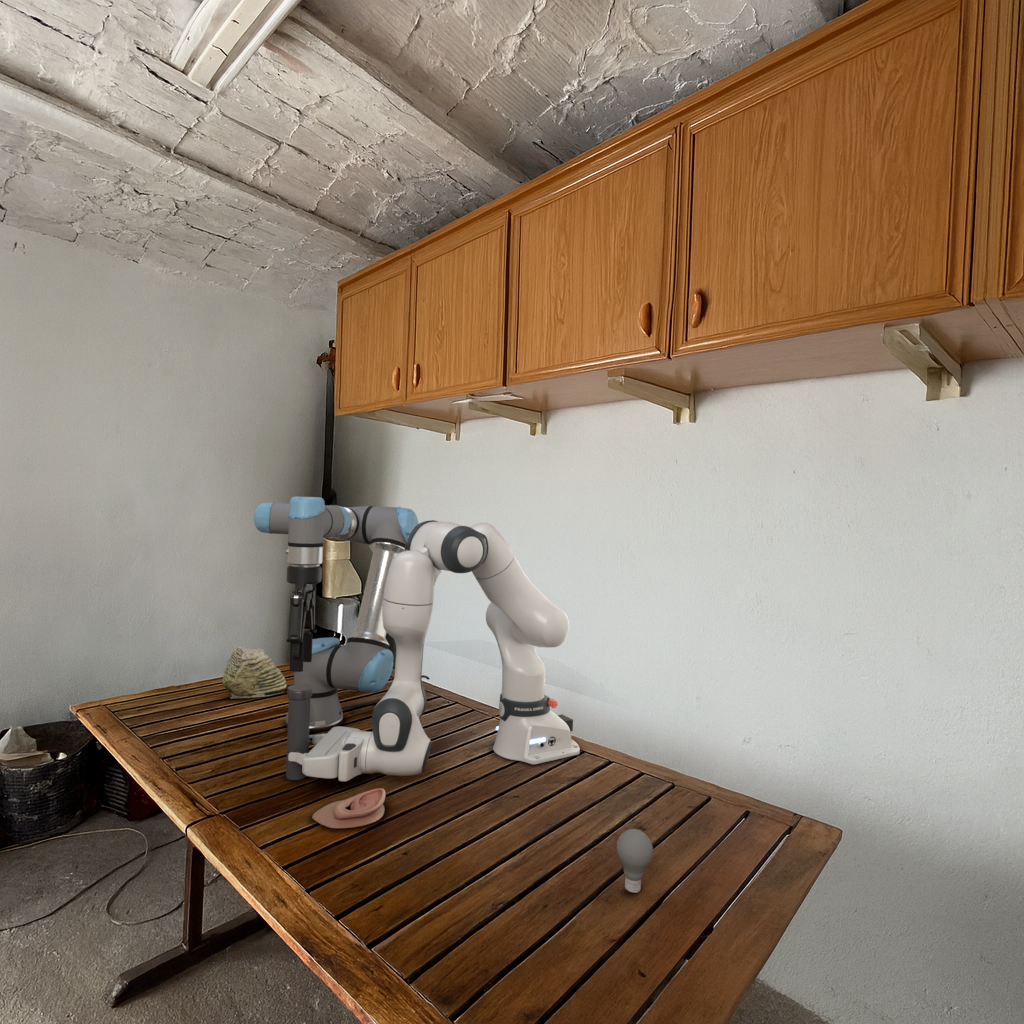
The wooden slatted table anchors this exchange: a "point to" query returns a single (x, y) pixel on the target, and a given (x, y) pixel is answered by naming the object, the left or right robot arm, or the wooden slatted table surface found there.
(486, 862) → the wooden slatted table surface
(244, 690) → the fossil
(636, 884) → the light bulb
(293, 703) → the dark grey cylinder
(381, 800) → the anatomical model
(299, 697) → the lid
